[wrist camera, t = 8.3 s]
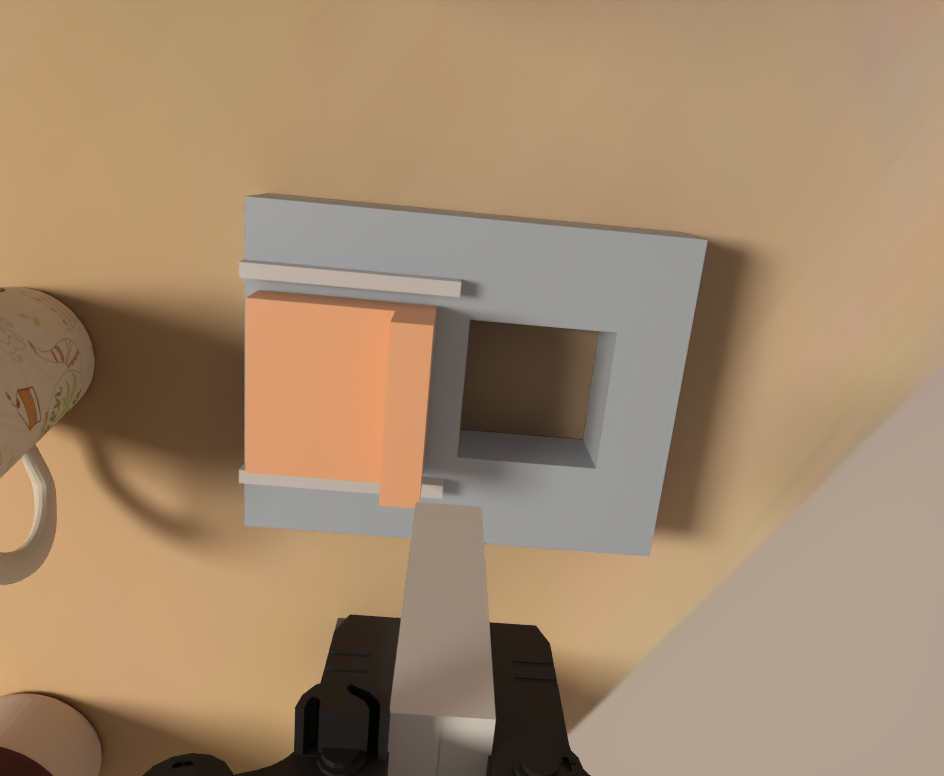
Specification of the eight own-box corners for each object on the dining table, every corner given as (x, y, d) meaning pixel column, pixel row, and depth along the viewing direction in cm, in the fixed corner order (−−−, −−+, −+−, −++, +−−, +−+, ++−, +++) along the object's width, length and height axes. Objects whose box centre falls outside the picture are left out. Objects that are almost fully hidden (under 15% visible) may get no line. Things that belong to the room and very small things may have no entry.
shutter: (258, 289, 28) (229, 307, 25) (436, 305, 29) (433, 325, 25) (257, 455, 30) (229, 494, 27) (423, 468, 31) (418, 508, 27)
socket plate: (268, 193, 31) (238, 197, 27) (681, 232, 32) (714, 241, 28) (264, 491, 35) (238, 534, 31) (631, 519, 36) (654, 565, 32)
